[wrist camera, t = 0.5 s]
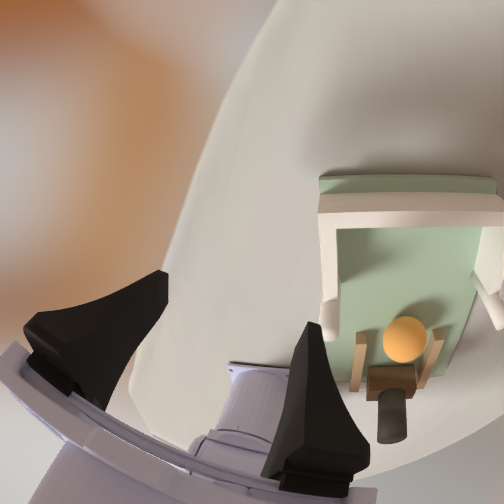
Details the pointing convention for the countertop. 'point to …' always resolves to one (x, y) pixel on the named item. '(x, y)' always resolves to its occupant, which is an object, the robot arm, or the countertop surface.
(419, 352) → the ball
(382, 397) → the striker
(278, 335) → the countertop surface
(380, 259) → the pitch
